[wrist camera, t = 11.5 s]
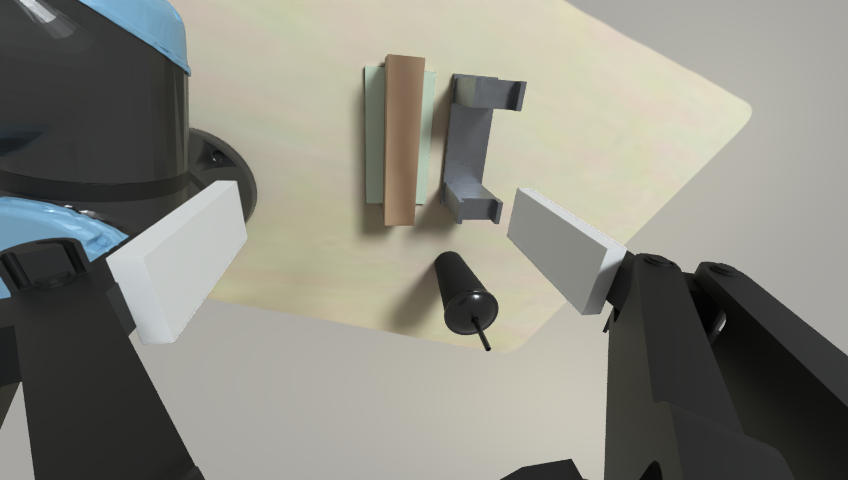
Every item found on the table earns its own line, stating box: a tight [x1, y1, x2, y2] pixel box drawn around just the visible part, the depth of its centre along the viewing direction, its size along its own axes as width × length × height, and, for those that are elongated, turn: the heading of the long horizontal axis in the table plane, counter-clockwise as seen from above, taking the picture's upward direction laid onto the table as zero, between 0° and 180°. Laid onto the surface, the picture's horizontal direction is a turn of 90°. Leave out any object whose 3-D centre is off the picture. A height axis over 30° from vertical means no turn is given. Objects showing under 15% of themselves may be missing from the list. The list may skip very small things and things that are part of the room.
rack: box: [440, 74, 527, 224], centre depth 42 cm, size 6×18×10 cm, turn 175°
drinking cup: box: [435, 251, 498, 351], centre depth 46 cm, size 8×8×20 cm
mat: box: [365, 66, 436, 204], centre depth 44 cm, size 9×18×1 cm, turn 175°
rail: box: [382, 54, 425, 226], centre depth 41 cm, size 4×20×6 cm, turn 175°
